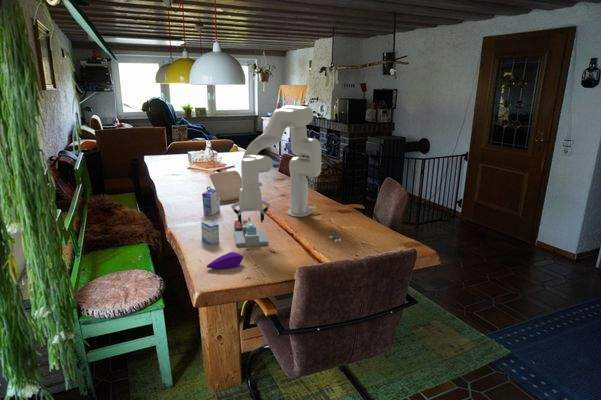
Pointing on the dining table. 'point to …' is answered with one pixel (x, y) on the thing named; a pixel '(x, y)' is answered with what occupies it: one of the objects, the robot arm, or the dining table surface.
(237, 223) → the walkie-talkie
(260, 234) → the block
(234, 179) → the case
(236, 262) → the purple tapered spindle
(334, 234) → the car cutout
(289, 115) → the robot arm
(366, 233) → the dining table surface
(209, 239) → the medicine box
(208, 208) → the ink cartridge box
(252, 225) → the block
